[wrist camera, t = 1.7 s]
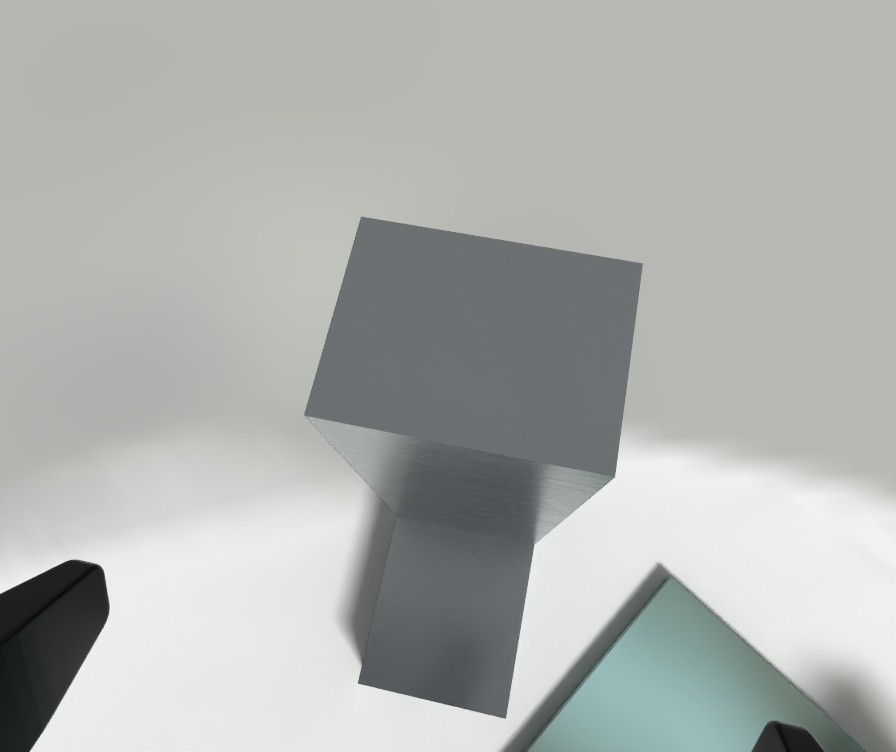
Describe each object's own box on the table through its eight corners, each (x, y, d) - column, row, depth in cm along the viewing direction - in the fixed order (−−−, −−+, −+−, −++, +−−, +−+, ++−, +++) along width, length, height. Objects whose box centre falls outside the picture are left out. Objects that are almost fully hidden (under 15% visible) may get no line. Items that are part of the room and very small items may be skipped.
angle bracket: (422, 428, 21) (360, 216, 9) (545, 453, 21) (643, 263, 9) (366, 677, 19) (190, 809, 7) (503, 709, 19) (558, 907, 7)
